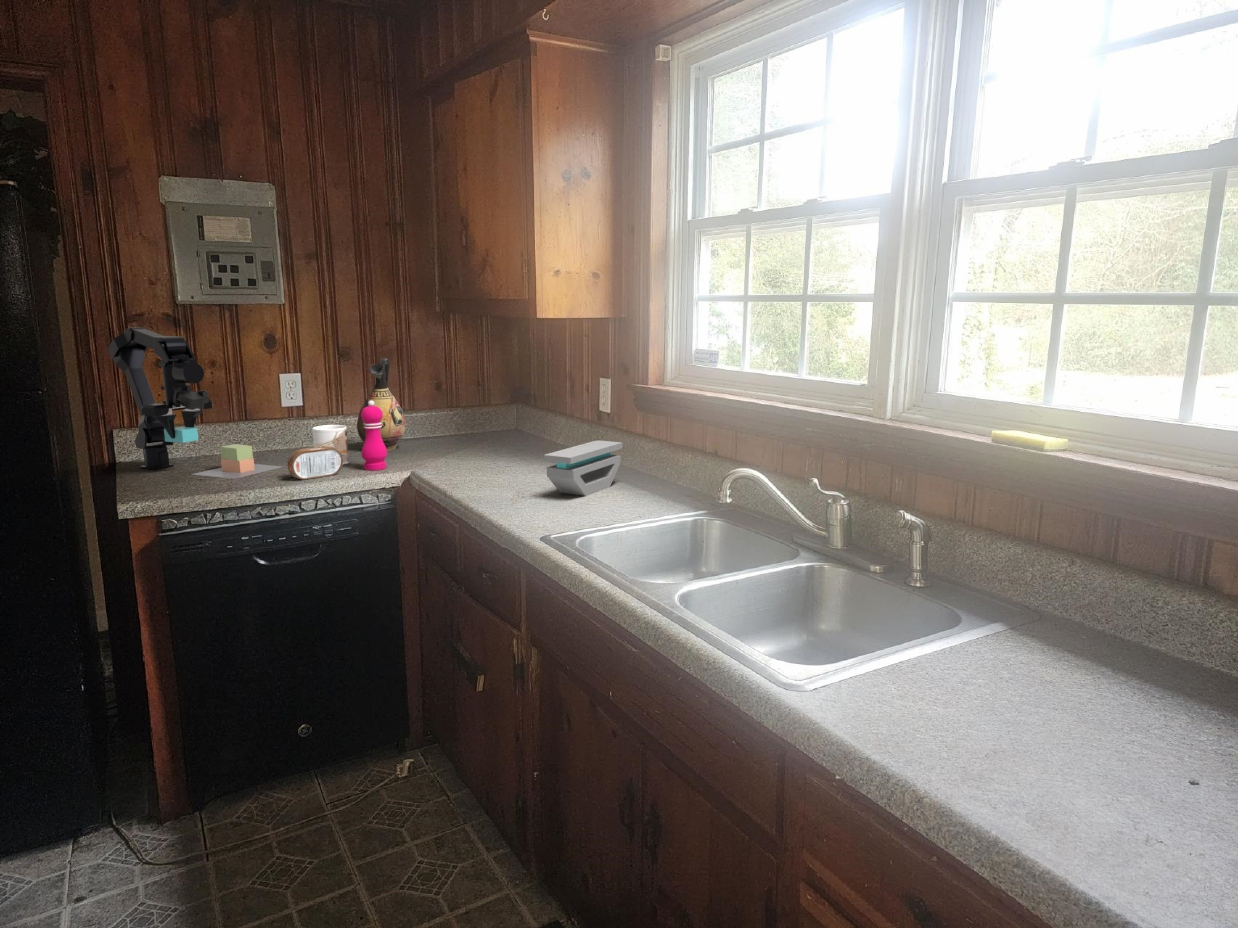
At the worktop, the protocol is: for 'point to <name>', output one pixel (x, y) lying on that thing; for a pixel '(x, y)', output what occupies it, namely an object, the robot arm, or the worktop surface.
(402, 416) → the ceramic jug
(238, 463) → the terracotta brick
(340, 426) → the mug
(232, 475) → the baseplate
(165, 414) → the robot arm
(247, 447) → the olive brick
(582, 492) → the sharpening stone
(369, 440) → the pepper mill
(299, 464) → the tin
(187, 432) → the teal brick
